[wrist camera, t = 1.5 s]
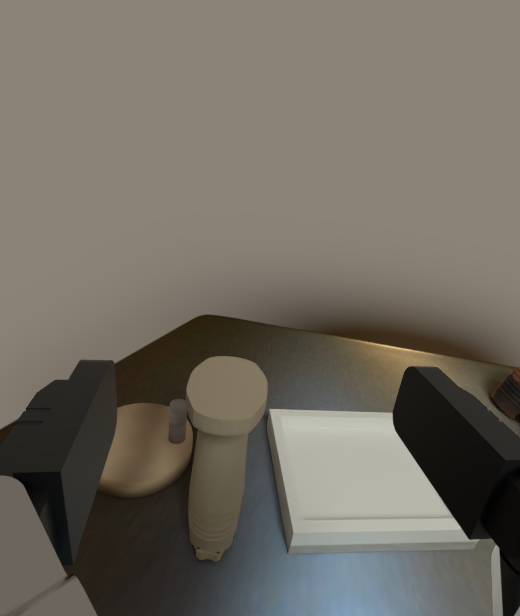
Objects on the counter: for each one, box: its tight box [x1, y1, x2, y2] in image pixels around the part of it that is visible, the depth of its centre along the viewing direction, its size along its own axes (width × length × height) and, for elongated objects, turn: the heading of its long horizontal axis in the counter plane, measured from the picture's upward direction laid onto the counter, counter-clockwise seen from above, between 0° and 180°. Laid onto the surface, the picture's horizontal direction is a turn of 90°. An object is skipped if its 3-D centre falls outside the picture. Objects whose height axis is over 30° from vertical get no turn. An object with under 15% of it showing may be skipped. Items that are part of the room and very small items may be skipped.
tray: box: [267, 409, 479, 554], centre depth 36 cm, size 16×14×2 cm
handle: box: [186, 356, 267, 562], centre depth 26 cm, size 5×6×15 cm
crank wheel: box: [97, 399, 193, 498], centre depth 35 cm, size 10×10×6 cm
